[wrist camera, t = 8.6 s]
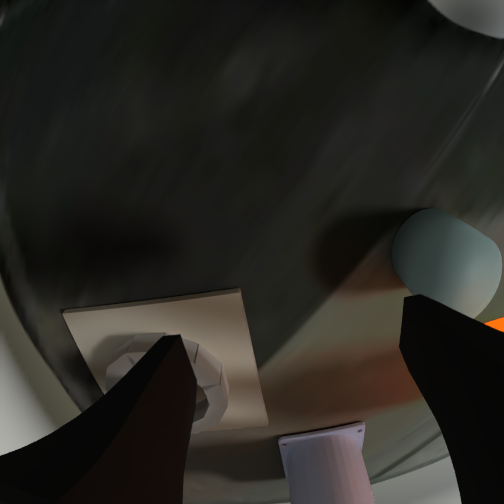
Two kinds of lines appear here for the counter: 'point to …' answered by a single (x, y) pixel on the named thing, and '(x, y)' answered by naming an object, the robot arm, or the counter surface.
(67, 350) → the counter surface
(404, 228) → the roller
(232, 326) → the board
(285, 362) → the counter surface
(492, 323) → the orange juice
